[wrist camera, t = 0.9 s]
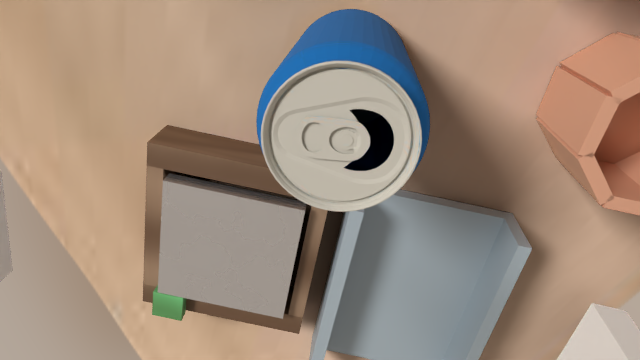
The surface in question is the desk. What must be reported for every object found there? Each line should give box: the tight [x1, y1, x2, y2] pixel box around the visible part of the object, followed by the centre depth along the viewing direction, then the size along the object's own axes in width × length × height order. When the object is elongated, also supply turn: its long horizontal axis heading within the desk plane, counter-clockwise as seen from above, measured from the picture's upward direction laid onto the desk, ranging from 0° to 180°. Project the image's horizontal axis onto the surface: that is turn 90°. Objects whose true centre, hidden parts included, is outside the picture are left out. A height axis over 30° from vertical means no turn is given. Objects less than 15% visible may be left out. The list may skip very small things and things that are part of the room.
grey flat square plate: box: [158, 173, 307, 319], centre depth 29 cm, size 8×8×1 cm
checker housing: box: [143, 125, 328, 334], centre depth 31 cm, size 12×11×4 cm
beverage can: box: [257, 9, 430, 212], centre depth 22 cm, size 6×6×12 cm
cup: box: [536, 32, 640, 215], centre depth 24 cm, size 8×8×6 cm
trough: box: [309, 189, 532, 360], centre depth 32 cm, size 14×11×4 cm
